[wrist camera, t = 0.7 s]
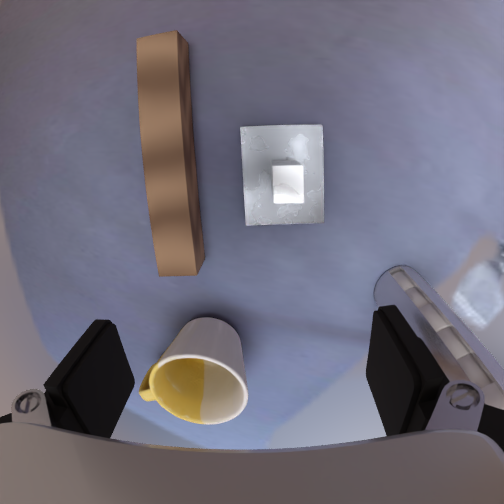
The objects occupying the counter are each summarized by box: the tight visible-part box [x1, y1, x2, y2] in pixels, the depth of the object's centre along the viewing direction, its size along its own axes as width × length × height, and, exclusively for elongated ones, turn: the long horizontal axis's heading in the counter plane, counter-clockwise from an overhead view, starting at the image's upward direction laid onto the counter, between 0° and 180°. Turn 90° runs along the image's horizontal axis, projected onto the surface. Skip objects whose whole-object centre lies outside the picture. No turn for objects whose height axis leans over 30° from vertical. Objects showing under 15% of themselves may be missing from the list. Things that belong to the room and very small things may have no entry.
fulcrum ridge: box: [240, 125, 324, 226], centre depth 29 cm, size 10×8×8 cm
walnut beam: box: [137, 30, 205, 276], centre depth 30 cm, size 24×4×5 cm, turn 3°
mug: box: [139, 317, 248, 424], centre depth 35 cm, size 14×10×10 cm
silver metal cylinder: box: [374, 266, 504, 410], centre depth 25 cm, size 6×6×25 cm
